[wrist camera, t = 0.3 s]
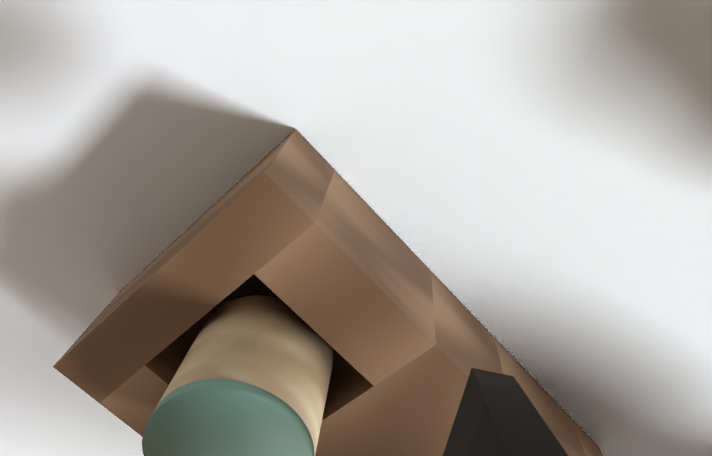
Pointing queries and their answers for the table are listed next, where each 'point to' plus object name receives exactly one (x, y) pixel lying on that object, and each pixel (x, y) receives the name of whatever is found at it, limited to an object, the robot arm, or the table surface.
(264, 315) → the peg
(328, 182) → the walnut block
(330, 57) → the table surface
